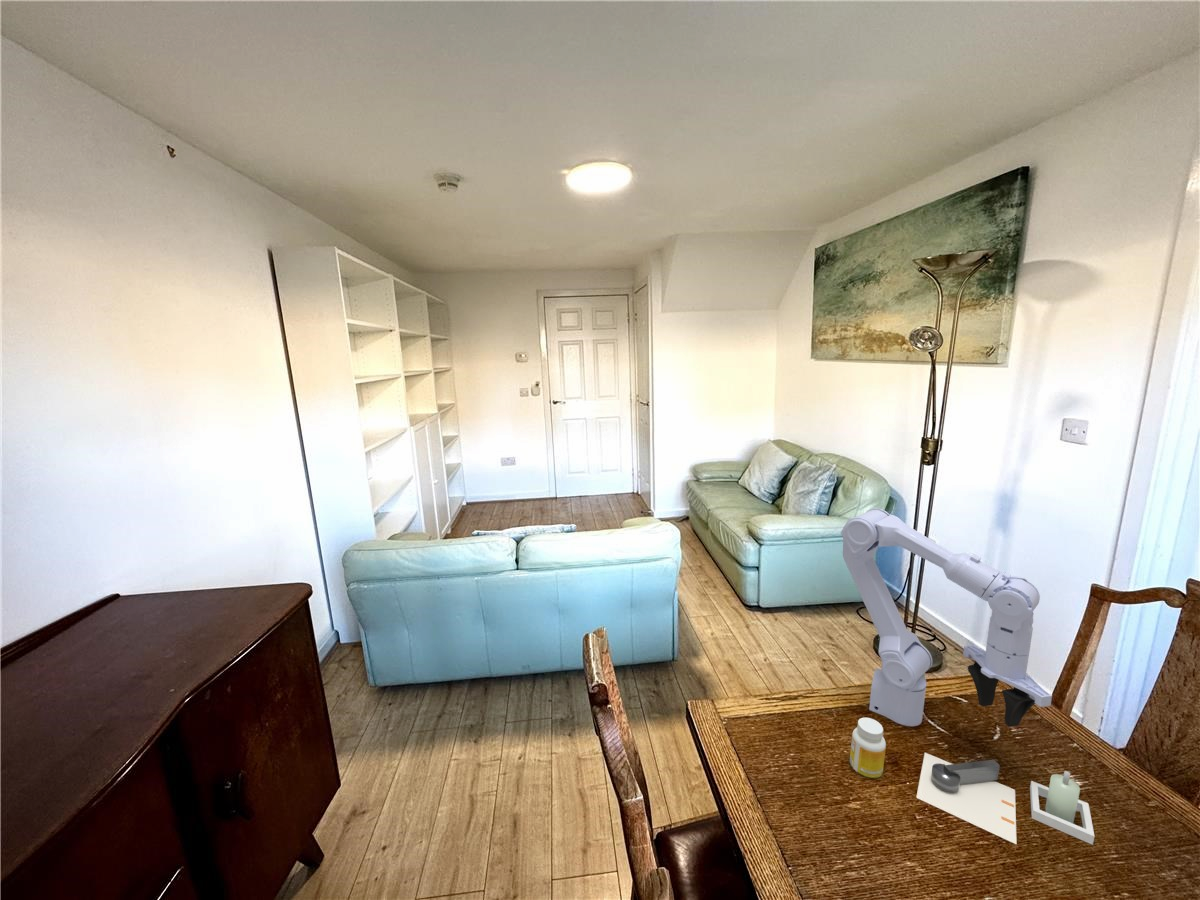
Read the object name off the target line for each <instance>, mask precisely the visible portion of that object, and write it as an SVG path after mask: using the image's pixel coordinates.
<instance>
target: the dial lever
mask: <svg viewBox="0 0 1200 900" xmlns="http://www.w3.org/2000/svg"><path fill="white" fill-rule="evenodd" d="M1000 766H1001V765H1000V764H999V763H998V762H997V761H996V760H995V759H989V760H979V761H971V762H963V763H952V764H951V765H944V764H934V765H933V766H932V773H931V780H932V782H933V783H934V784H935V785H936V786H937V787H938V788H940V789H941V790H943V791H945V792H949V793H956V792H958V790H959V785H960V784H967V783H975V782H984V781H992V780H993V781H998V779H999V774H1000V773H999V772H1000V768H1001V767H1000Z"/></svg>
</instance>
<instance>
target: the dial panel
mask: <svg viewBox="0 0 1200 900" xmlns="http://www.w3.org/2000/svg"><path fill="white" fill-rule="evenodd" d="M934 764H944V765H951V764H953V763H951V762H949V761H947V760H944V759H942V758H939V757H937V756H934V755H932V754H929V753H927V752H924V755H923V761H922V765H921V771H920V775H919V776H920V777H919V781H918V787H917V793H916V797H915V798H917V799H918V800H921V801H922V802H925V803H926V804H929V805H931V806H933V807H934V808H938V809H940V810H941V811H944V812H946V813H948V814H950V815H952V816H954V817H955V818H956V817H957V818H959V819H961V820H962V821H965V822H967V823H970V824H972V825H974V826H976V827H977V828H980V829H983V830H984V831H986V832H989V833H991V834H993V835H994V836H995V835H996V836H997V837H999V838H1002V839H1003V840H1005V841H1008V842H1010V843H1012V844H1014V845H1017V818H1016V817H1017V814H1016V811H1017V810H1016V808H1017V807H1016V789H1013V788H1011V787H1009V786H1008V785H1004V784H1001V783H999V782H998V781H996V780H992V781H984V782H975V783H967V784H960V785H959V790H958V792H956V793H949V792H945V791H943V790H941V789H940V788H938V787H937V786H936V785H935V784H934V783H933V782H932V780H931V773H932V766H933V765H934Z"/></svg>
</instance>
